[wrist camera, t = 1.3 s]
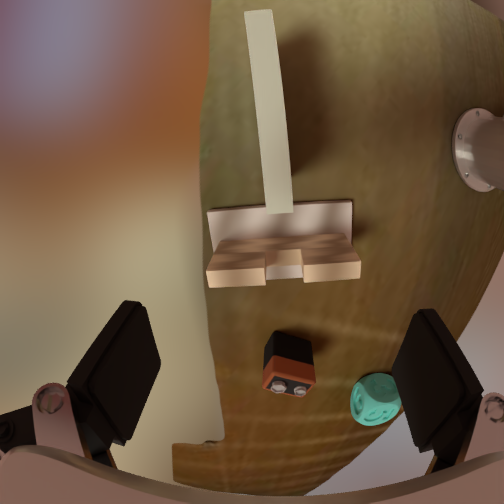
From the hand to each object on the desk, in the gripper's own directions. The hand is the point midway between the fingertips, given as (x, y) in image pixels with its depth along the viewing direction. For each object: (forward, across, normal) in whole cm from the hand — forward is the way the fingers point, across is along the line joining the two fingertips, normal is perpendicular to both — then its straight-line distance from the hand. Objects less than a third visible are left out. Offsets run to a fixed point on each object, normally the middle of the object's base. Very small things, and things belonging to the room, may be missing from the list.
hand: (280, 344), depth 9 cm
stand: (+27, -1, +8) cm, 28 cm away
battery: (+28, -3, +26) cm, 38 cm away
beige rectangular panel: (+27, +1, -8) cm, 29 cm away
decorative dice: (+28, -21, +38) cm, 52 cm away
